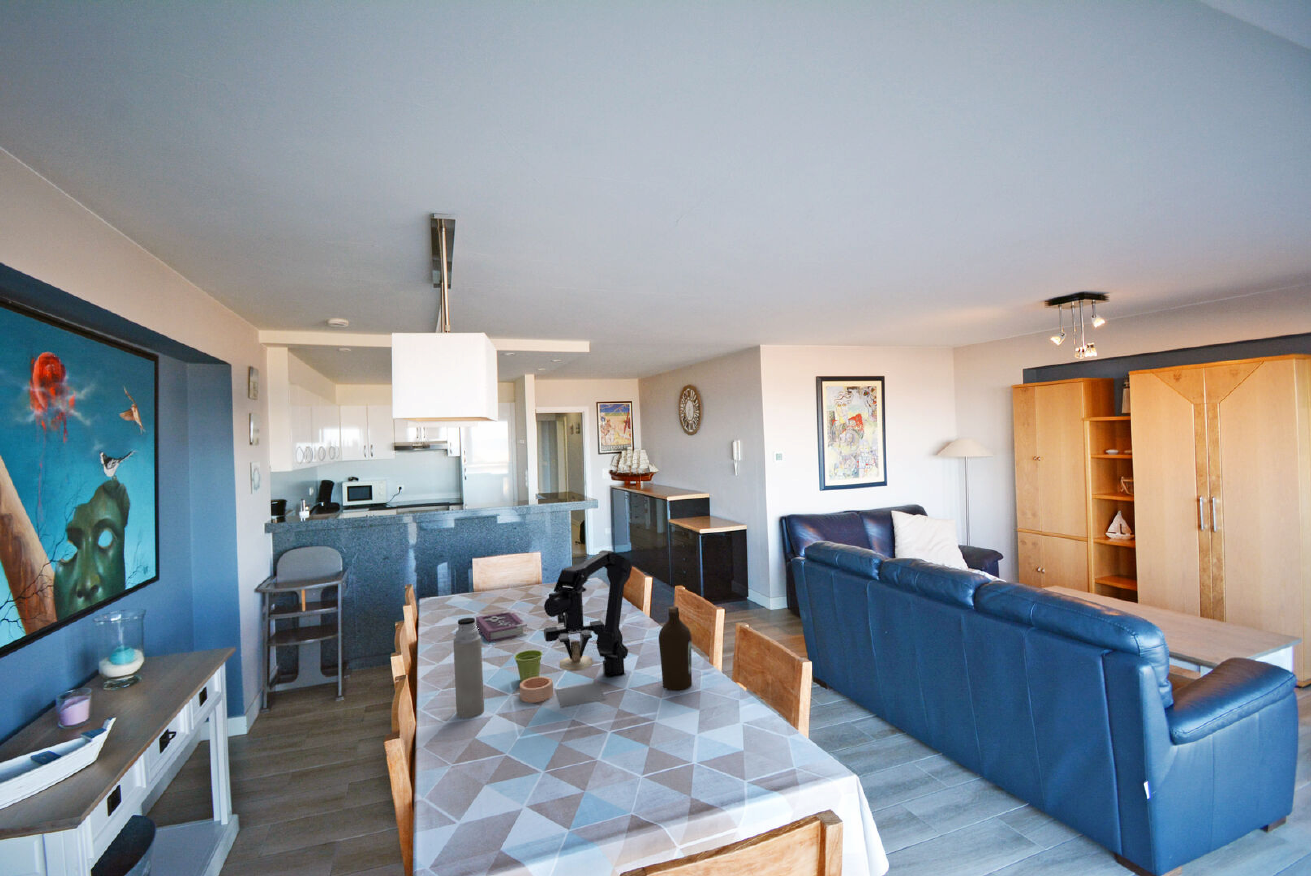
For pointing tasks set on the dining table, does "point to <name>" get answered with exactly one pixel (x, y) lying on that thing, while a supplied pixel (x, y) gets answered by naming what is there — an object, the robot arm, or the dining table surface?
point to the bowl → (536, 689)
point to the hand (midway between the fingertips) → (575, 658)
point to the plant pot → (528, 663)
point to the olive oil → (675, 653)
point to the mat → (580, 695)
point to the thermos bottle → (468, 670)
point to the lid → (575, 659)
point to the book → (500, 626)
